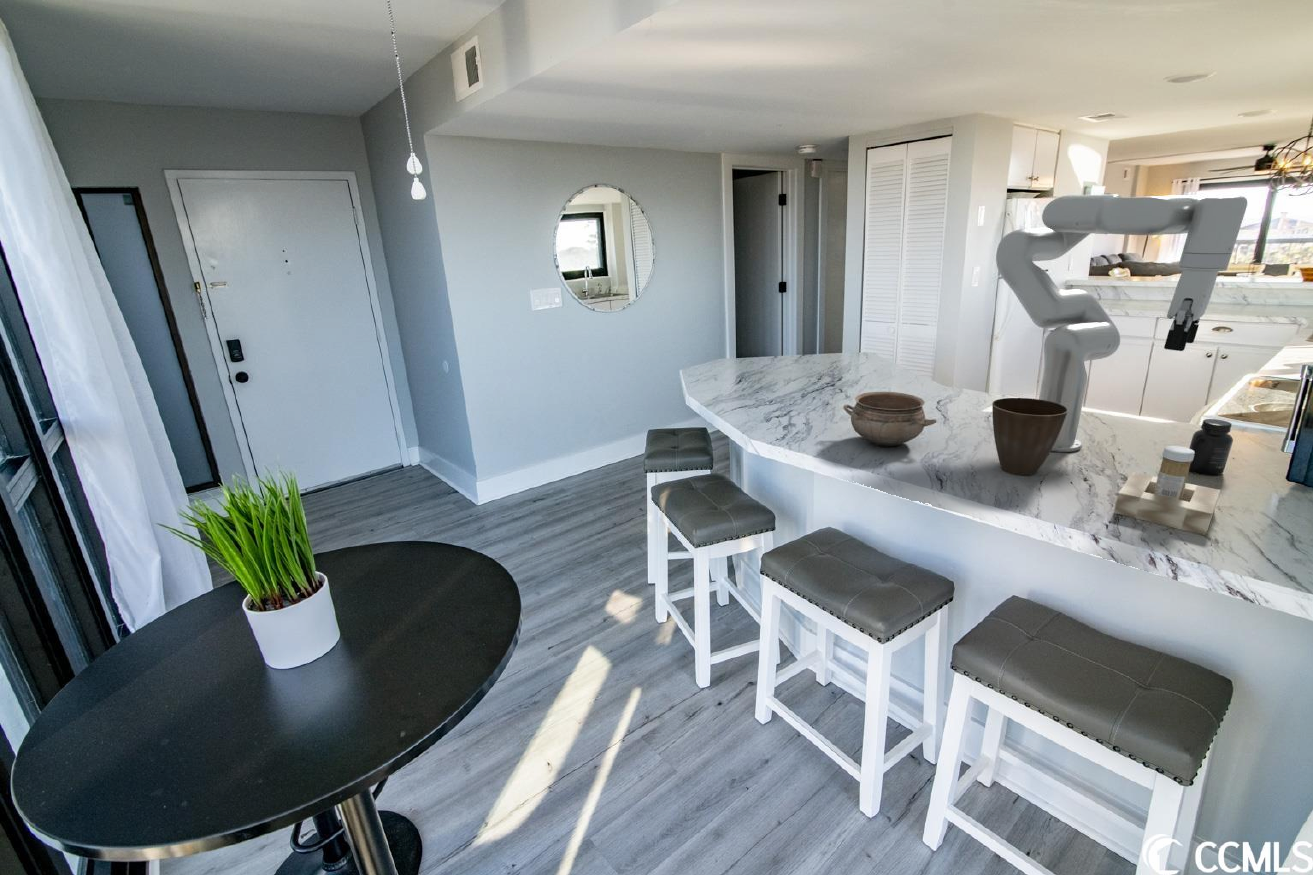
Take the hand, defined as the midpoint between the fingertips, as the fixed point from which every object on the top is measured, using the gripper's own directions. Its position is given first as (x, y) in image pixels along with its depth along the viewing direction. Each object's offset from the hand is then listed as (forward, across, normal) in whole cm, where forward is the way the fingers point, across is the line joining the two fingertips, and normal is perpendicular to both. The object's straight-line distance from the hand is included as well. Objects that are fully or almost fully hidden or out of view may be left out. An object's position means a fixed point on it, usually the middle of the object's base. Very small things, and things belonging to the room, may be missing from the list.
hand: (1178, 345), depth 125 cm
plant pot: (+31, +14, -21) cm, 40 cm away
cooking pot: (+32, +18, -53) cm, 64 cm away
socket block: (+30, +18, +8) cm, 36 cm away
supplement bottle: (+30, -13, +9) cm, 34 cm away
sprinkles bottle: (+30, +18, +7) cm, 36 cm away
